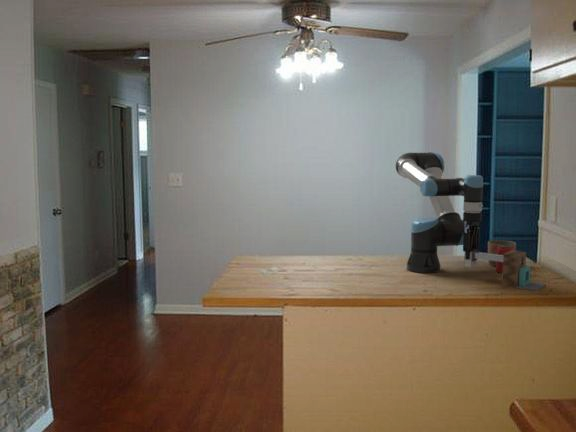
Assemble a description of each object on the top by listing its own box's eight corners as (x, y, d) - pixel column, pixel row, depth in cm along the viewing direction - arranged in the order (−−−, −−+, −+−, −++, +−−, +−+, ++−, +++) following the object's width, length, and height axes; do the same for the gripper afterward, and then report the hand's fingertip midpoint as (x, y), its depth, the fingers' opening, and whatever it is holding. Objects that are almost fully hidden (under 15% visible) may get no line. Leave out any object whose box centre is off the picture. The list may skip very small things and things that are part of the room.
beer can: (512, 273, 260) (513, 247, 258) (496, 273, 261) (498, 246, 259) (510, 270, 266) (511, 244, 265) (494, 269, 267) (495, 243, 266)
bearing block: (502, 284, 241) (503, 253, 239) (509, 280, 247) (511, 250, 246) (517, 287, 237) (518, 255, 235) (524, 283, 244) (526, 252, 242)
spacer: (518, 285, 237) (519, 268, 236) (524, 282, 243) (525, 265, 242) (523, 286, 236) (524, 269, 235) (529, 282, 241) (530, 266, 240)
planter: (520, 265, 276) (521, 242, 274) (503, 269, 269) (505, 245, 267) (497, 261, 286) (498, 239, 284) (481, 264, 279) (482, 241, 277)
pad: (516, 288, 235) (516, 286, 235) (526, 282, 245) (526, 281, 244) (536, 291, 231) (536, 289, 231) (545, 285, 240) (546, 283, 240)
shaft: (464, 260, 253) (464, 248, 252) (468, 258, 256) (468, 247, 255) (518, 267, 238) (519, 255, 237) (522, 266, 241) (522, 254, 240)
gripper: (473, 214, 241) (470, 270, 244) (489, 210, 254) (486, 263, 257) (455, 213, 246) (453, 267, 249) (472, 209, 259) (470, 261, 262)
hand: (470, 265), depth 253 cm, fingers closed on shaft, 4 cm apart
